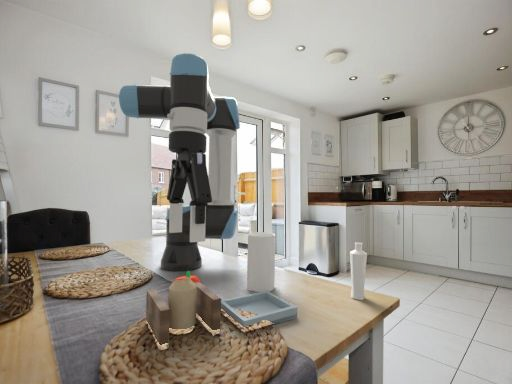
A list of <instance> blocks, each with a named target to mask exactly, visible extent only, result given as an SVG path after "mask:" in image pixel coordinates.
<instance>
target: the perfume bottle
mask: <svg viewBox="0 0 512 384" xmlns="http://www.w3.org/2000/svg"><path fill="white" fill-rule="evenodd" d="M363 244H364V243H363V242H354V249H353V250H349V262H350V266H349V267H350V279H351V281H350V283H351V286H350V287H351V292H350V295H349V296H350V297H351V299H354V300H358V301H363V300H365V298H366V295H365V281H366V271H367V270H366V269H367V261H368V260H367V259H368V252H365V251H364V250H363Z"/></svg>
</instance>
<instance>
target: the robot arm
mask: <svg viewBox="0 0 512 384" xmlns="http://www.w3.org/2000/svg"><path fill="white" fill-rule="evenodd" d="M170 63H171V65H170V72H169V76H170V82H169V85H162V86H161V85H138V84H134V85H133V84H131V85H123V86H122V87H121V88H120V90H119V93H118V102H119V107H120V110H121V112H122V113H123V115H125V116H126V117H128V118H135V119H157V120H165V121H169V128H168V129H169V131H170V133H169V134H168V150H169V152H171V153H175V154H177V157H176V159H171V170H170V171H171V172H170V177H169V184H168V190H167V195H166V200H167V201H168V202H169V208H168V209H167V212H166V219H165V221H166V235H165V237H166V239H165V241H166V242H165V243H166V244H165V248H164V251H163V254H162V256H161V259H160V268H161V269H162V270H165V271H173V272H177V271H179V272H181V271H182V272H183V271H190V270H195V269H198V268H200V267H202V265H203V264H202V263H203V261H202V260H203V259H202V255H201V252H200V250H199V249H200V248H199V245H198V243H199V242H206V239H207V240H208V239H209V240H212V239H215V240H220V241H222V240H230V239H232V238H233V237H234V235H235V233H236V227H237V220H238V214H239V210H238V208H236V207H235V203H234V202H233V201H232V200H231V186H232V182H231V181H232V148H233V147H232V146H233V145H232V142H233V141H232V140H233V137H234V136H235V135H236V134H237V133H236V132H237V130H239V129H241V128H240V113H239V108H238V102H237V100H236V98H235V97H232V96H231V97H230V96H214V95H213V94H212V92H211V88H210V86H209V77H210V74H209V65H208V62H207V61H206V60H205V59H204V58H203V57H202V56H199V55H197V54H194V53H178V54H176V55H175V56H174V57H172V60H171V62H170ZM205 134H206V135H207V136H208V137H209V142H208V169H207V155H206V152H207V136H206V135H205ZM186 186H187V187H188V190H189V194H190V199H191V200H190V202H189V204H188V205H183V204H184V203H185V201H184V198H183V196H184V193H185V190H186Z"/></svg>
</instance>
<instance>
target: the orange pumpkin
mask: <svg viewBox="0 0 512 384" xmlns="http://www.w3.org/2000/svg"><path fill="white" fill-rule="evenodd" d="M184 278H190V279H191V281H192V282H200V283H201V284H202V281H201V279H200V278H199V277H198V276H197V275H193V274H191V271H190V270H186V275H183V276H180V277H176V278H175V279H174V280H173V282H172V283H174V282H175V281H176V280H182V279H184Z"/></svg>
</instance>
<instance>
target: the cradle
mask: <svg viewBox="0 0 512 384" xmlns="http://www.w3.org/2000/svg"><path fill="white" fill-rule="evenodd" d="M194 283H195V284H196V286H197V291H196V313H197V314H198V315H199V316H200V317H201V318H202V320H203V321H204V322H205V323H206V324H207V325H208V326H209V327H210V328H211V329H212V330H217V329H220V330H221V324H222V323H221V321H222V319H221V315H222V314H221V300H222V298H221V297H220V296H219V295H217V294H215V292H214V291H212V290H211V289H210V288H208V287H207V286H205V285H204V284H203V283H202V282H201V283H200V282H194ZM145 303H146V304H145V306H146V307H145V321H146V320H147V322H148V323H149V325H150V327H151V329H152V331H153V333H154V335H155V337H156V339H157V341H158V342H159V344H160V345H162V344H165V343H169V344H170V333H169V327H170V308H169V307H168V304H167V303H166V302H165V301H164V299H163V298H162V296H161V295H160V294H159V293H158V291H157V290H156V289H155V288H150V289H146V302H145Z"/></svg>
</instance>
